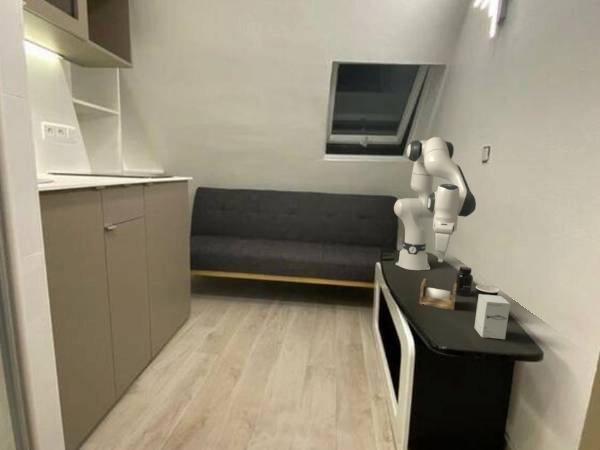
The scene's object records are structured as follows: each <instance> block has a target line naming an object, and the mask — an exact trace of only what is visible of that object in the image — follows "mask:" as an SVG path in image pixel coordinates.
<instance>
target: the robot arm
mask: <svg viewBox="0 0 600 450" xmlns="http://www.w3.org/2000/svg"><path fill="white" fill-rule="evenodd" d="M454 148H455V147H454V144H453V143H452V142H451V141H446V140H444V139H443V138H442V137H439V136H433V137H431V138H428V139H427V140H426V139H423V140H422V139H421V140H419V139H416V140H412V141H411V142H409V144H408V145H407V149H406V156H407V158H408V160H409V161H412V162H413V167H412V172H411V179H410V183H409V185H410V188H411V189H412V190H413V191H415V192H416V193H418V198H415V197H413V198H412V197H406V198H405V197H404V198H400V199H397V200H396V202H395V203H394V205H393V211H394V214H395V215H396V216H397V217H398V218H399V219H400V220H401V221H402V223H403V226H404V241H403V244H402V249H401V250H400V251H399V258H398V261H397V262H395V266H399V267H400V268H403V269H405V270H410V271H425V270H428V271H429V270H431V267H430V266H431V265H430V264H429V261H428V254H427V252H426V247H427V246H426V245H427V244H426V237H427V231H426V228H425V227H424V225H421V224H419V223H418V219H433V220H432V221H433V223H432V229H433V232H434V233H435V251H436V253H437V262H438V263H443V262H444V257H445V255H446V252H447V250H448V248H449V247H448V246H449V243H450V238H451V236H452V235H453V234H454V232H457V230H458V229H457V228H458V220H459V217H463V218H465V217H468V216H470V215H471V214H473V213H474V211H475V210H476V207H477V203H476V198H475V195H473V193H472V191H471V189H470V187H469V185H468V182H467V180H466V177H465V175H464V172H463V171H462V169H461V167H460V165H458V164H457V163H455V162H454V161H453V160H452V158H453V156H454V153H455V150H454ZM434 177H436V178H441V179H444V180H446V181H449V182H450V183H451V184H450V183H443V184H440V185H438V187H437V190H436V191H433V182H434Z"/></svg>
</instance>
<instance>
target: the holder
mask: <svg viewBox="0 0 600 450" xmlns="http://www.w3.org/2000/svg"><path fill="white" fill-rule="evenodd" d="M456 287H457V283H455V282H454V283H453V289H452V290H451V294H450V301H449V300H444V299H438V298H432V297H427V296H426V289H427V278H423V280H422V281H421V285H420V291H419V292H420V293H419V303H418V304H419V305H423V304H424V306H430V307H435V308H440V309H445V310H451V311H455V304H456V303H455V302H456V295H457V294H456Z"/></svg>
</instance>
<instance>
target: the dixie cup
mask: <svg viewBox="0 0 600 450" xmlns="http://www.w3.org/2000/svg"><path fill="white" fill-rule="evenodd" d="M475 289H476V290H475V291H476V293H475V295H476V298H475V299H476V300H475V302H476V305H475V306H476V308H475V309H476V310H475V311H476V312H477V304H478V295H479V294H483V295H494V296H499V292H500V289H499V288H498V287H495V286H492V285H487V284H477V285H476V286H475Z"/></svg>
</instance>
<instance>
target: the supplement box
mask: <svg viewBox="0 0 600 450" xmlns="http://www.w3.org/2000/svg"><path fill="white" fill-rule="evenodd" d="M510 307H511V303H510V302H509V301H508V300H507V299H505V298H504V297H503V296H501V295H498V296H494V295H483V294H479V295H478V304H477V312H476V313H475V320H474V329H475V331H476V332H477V333H478V335H479V336H480V337H481V338H488V339H489V338H490V339H498V340H499V339H500V340H506V334H507V329H508V328H507V327H508V321H509V313H510Z"/></svg>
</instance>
